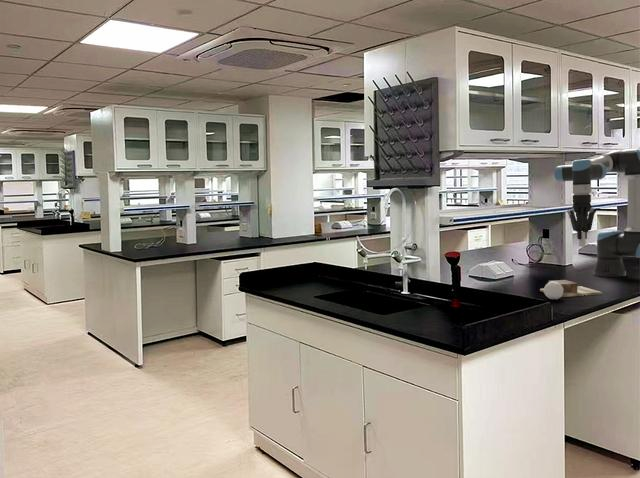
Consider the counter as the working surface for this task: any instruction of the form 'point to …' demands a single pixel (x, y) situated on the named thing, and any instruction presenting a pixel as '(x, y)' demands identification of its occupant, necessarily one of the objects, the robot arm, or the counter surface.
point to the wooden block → (567, 286)
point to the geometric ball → (553, 290)
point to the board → (580, 292)
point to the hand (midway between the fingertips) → (582, 246)
